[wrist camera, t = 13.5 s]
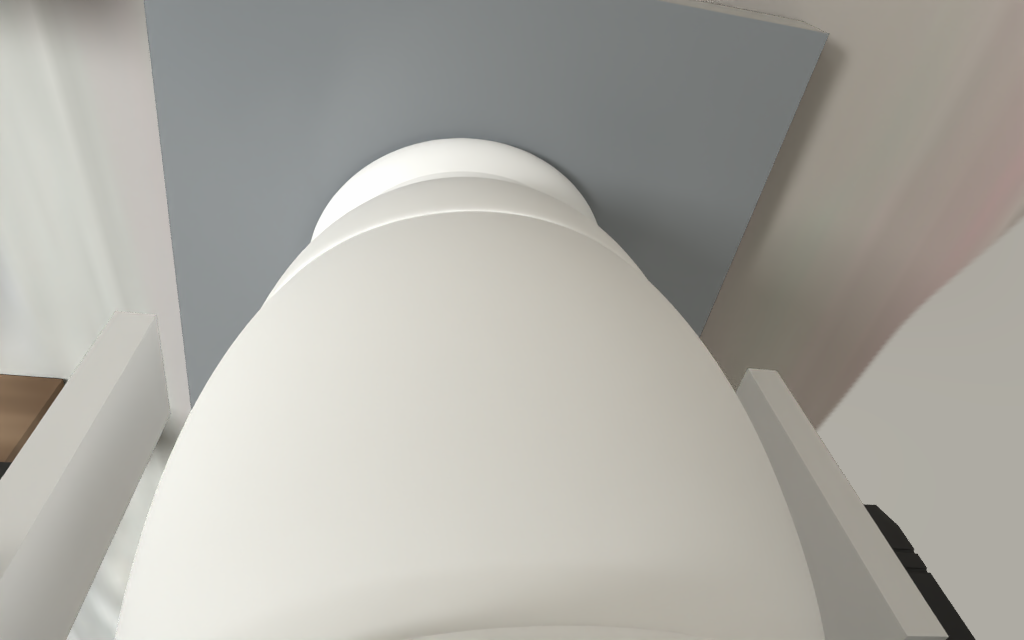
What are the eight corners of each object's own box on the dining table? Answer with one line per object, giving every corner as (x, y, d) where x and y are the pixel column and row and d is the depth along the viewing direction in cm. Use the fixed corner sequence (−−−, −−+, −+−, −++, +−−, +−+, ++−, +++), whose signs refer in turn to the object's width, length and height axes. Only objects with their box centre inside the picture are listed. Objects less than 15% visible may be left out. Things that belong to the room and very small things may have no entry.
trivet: (208, 416, 24) (195, 446, 23) (157, -107, 15) (131, -103, 14) (632, 445, 27) (641, 473, 25) (802, 21, 18) (829, 33, 17)
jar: (426, 449, 24) (413, 1090, 11) (189, 245, 18) (-309, 1043, 6) (694, 296, 21) (1055, 931, 9) (506, 0, 15) (761, 582, 3)
